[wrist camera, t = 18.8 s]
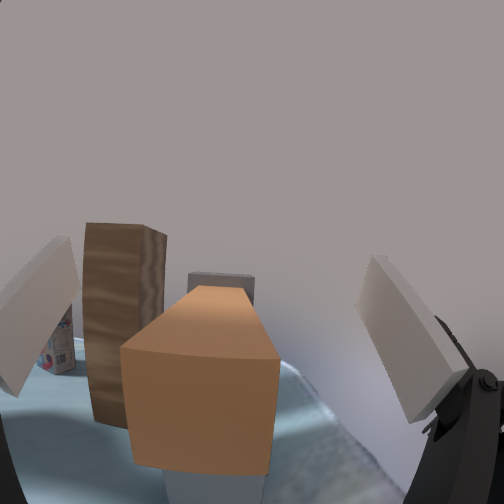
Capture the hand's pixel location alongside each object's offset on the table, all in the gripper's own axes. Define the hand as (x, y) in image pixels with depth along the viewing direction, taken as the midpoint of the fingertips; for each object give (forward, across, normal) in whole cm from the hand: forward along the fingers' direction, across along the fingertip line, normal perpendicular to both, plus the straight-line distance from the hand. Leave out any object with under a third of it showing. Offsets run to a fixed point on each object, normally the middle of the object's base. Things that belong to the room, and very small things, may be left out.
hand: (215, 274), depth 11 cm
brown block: (+3, 0, -8) cm, 9 cm away
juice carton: (+20, -35, -39) cm, 56 cm away
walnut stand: (+12, -14, -35) cm, 39 cm away
